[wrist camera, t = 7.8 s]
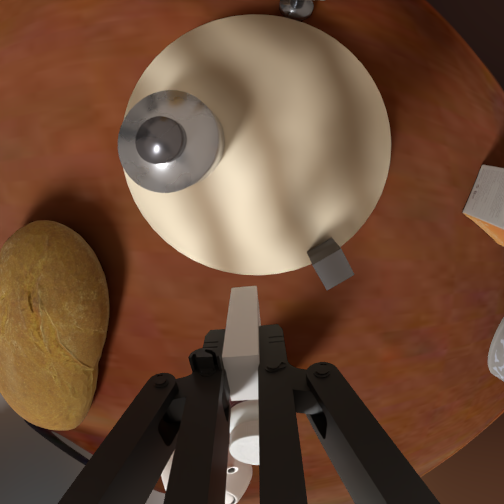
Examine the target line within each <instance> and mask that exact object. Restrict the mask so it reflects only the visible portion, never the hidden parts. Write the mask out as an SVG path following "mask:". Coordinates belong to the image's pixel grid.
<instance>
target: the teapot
mask: <svg viewBox="0 0 504 504" xmlns="http://www.w3.org/2000/svg"><path fill="white" fill-rule="evenodd" d="M174 451H175V450H174ZM173 456H174V452H173V453H172V455H171V457H170V459H169V461H168V463H167V465H166V466H165V468H164V470H163V472H162V474H161V476H162V480H163V484H164V487H165V490H166V489H167V484H168V479H169V474H170V470H171V465H172V460H173ZM251 477H252V465H251V464H247V463H243V462H241V461H238V460H237V459H235V458H234V457H233V456H232V455H231V453H230V451H229V448H228V463H227V478H226V494H225V504H236V503H237V502H238V501H239V500H240V498H241V497H242V495H243V494H244V492H245V491H246V489H247V487H248V485H249V483H250V480H251Z"/></svg>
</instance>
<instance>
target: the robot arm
mask: <svg viewBox="0 0 504 504" xmlns="http://www.w3.org/2000/svg"><path fill="white" fill-rule="evenodd" d="M188 358H189V361H190V365H191V368H192V374H191V375H189V376H186V377H183V378H179V379H175V377H174V376H173V375H171V374H169V373H160V374H156V375H154V376H152V377H151V378H150V379H149V380H148V381H147V383H146V384H145V385H144V387H143V388H142V389H141V391H140V392H139V394H138V395H137V396H136V398H135V399H134V400H133V402H132V403H131V404H130V406H129V407H128V408H127V410H126V411H125V412H124V414H123V415H122V417H121V418H120V419H119V421H118V422H117V423H116V425H115V426H114V427H113V429H112V430H111V431H110V433H109V434H108V436H107V437H106V438H105V440H104V441H103V442H102V444H101V445H100V446H99V448H98V449H97V450H96V452H95V453H94V455H93V456H92V458H91V459H90V460H89V461H88V463H87V464H86V466H85V467H84V468H83V470H82V471H81V472H80V474H79V475H78V476H77V478H76V479H75V481H74V482H73V483H72V485H71V486H70V487H69V489H68V490H67V492H66V493H65V494H64V496H63V497H62V499H61V500H60V501H59V503H58V504H145V503H146V501H147V499H148V497H149V495H150V494H151V492H152V490H153V488H154V487H155V485H156V483H157V481H158V479H159V477H160V476H161V474H162V472H163V470H164V468H165V466H166V465H167V463H168V461H169V459H170V457H171V455H172V453H173V452H174V456H173V460H172V465H171V470H170V474H169V479H168V484H167V489H166V494H165V499H164V504H225V494H226V478H227V463H228V448H229V433H230V418H231V406H230V397H231V401H240V400H256V399H258V406H259V476H260V504H307V496H306V487H305V479H304V471H303V464H302V456H301V448H300V441H299V433H298V426H297V418H296V412H297V413H305V414H306V415H307V418H308V419H309V421H310V423H311V425H312V427H313V429H314V431H315V432H316V434H317V436H318V438H319V440H320V442H321V444H322V445H323V447H324V449H325V451H326V453H327V454H328V456H329V458H330V460H331V462H332V464H333V465H334V467H335V469H336V471H337V473H338V474H339V476H340V478H341V480H342V481H343V483H344V485H345V487H346V489H347V490H348V492H349V494H350V496H351V497H352V499H353V501H354V503H355V504H440V503H439V502H438V500H437V499H436V498H435V496H434V495H433V494H432V492H431V491H430V490H429V489H428V487H427V486H426V484H425V483H424V482H423V481H422V479H421V478H420V477H419V475H418V474H417V473H416V471H415V470H414V469H413V467H412V466H411V465H410V463H409V462H408V461H407V459H406V458H405V457H404V456H403V454H402V453H401V452H400V450H399V449H398V448H397V446H396V445H395V444H394V442H393V441H392V440H391V438H390V437H389V436H388V435H387V433H386V432H385V431H384V429H383V428H382V427H381V425H380V424H379V423H378V421H377V420H376V419H375V417H374V416H373V415H372V414H371V412H370V411H369V410H368V408H367V407H366V406H365V404H364V403H363V402H362V400H361V399H360V398H359V396H358V395H357V394H356V392H355V391H354V390H353V389H352V387H351V386H350V385H349V383H348V382H347V381H346V379H345V378H344V377H343V375H342V374H341V373H340V371H339V370H338V369H337V367H335V366H334V365H333V364H330V363H327V362H319V363H315V364H313V365H311V366H310V367H309V368H308V369H307V370H305V369H299V368H295V367H293V366H292V365H290V364H289V362H288V360H287V355H286V349H285V342H284V336H283V329H282V328H281V327H280V326H279V325H278V324H274V325H264V326H261V322H260V313H259V303H258V294H257V286H249V287H238V288H232V289H231V296H230V303H229V310H228V317H227V324H226V329H221V330H210V331H209V333H208V334H207V335H206V336H205V340H204V345H203V348H201V349H198V350H195V351H194V352H192V353H191V354H190V356H189V357H188ZM174 450H175V451H174Z"/></svg>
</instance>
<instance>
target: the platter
mask: <svg viewBox="0 0 504 504" xmlns="http://www.w3.org/2000/svg"><path fill="white" fill-rule="evenodd" d="M164 90H178V91H183V92H186V93H189V94H191V95H193V96H195V97H196V98H198V99H199V100H201V101H202V102H203V103H204V104H205V105H206V106H207V107H208V108H210V109H211V110H212V111H213V112H214V113H215V115H216V116H217V117H218V119H219V120H220V122H221V125H222V127H223V131H224V136H225V146H224V152H223V155H222V158H221V160H220V162H219V164H218V165H217V167H216V168H215V170H214V171H213V172H212V173H211V174H210V175H209V176H208V177H206V178H205V179H204V180H202V181H200V182H198V183H196V184H194V185H192V186H189V187H187V188H185V189H183V190H180V191H176V192H171V193H158V192H153V191H149V190H147V189H145V188H143V187H141V186H139V185H138V184H136V183H135V182H134V181H133V180H132V179H131V178H130V177H129V176H128V174H127V173H126V172H125V170H124V172H125V176H126V180H127V184H128V187H129V189H130V191H131V194H132V196H133V199H134V201H135V203H136V204H137V206H138V208H139V210H140V211H141V213H142V215H143V216H144V218H145V219H146V220H147V222H148V223H149V224H150V225H151V227H152V228H153V229H154V230H155V231H156V232H157V233H158V234H159V235H160V236H161V237H162V238H163V239H164V240H165V241H166V242H167V243H168V244H170V245H171V246H172V247H174V248H175V249H176V250H177V251H179V252H181V253H182V254H184V255H186V256H187V257H189V258H191V259H192V260H194V261H197V262H199V263H201V264H203V265H206V266H208V267H211V268H214V269H218V270H221V271H225V272H230V273H236V274H242V275H268V274H278V273H283V272H287V271H292V270H296V269H299V268H301V267H304V266H307V265H310V264H312V265H313V267H314V269H315V270H316V272H317V274H318V276H319V277H320V279H321V281H322V283H323V284H324V286H325V288H326V290H329V289H330V288H332V287H334V286H336V285H337V284H339V283H341V282H343V281H344V280H346V279H348V278H350V277H351V276H353V275H354V273H353V271H352V269H351V267H350V265H349V263H348V261H347V259H346V257H345V255H344V253H343V251H342V249H341V248H340V247H341V246H342V245H343V244H344V243H346V242H347V241H348V240H349V239H350V238H351V237H352V236H353V235H354V234H355V233H356V232H357V231H358V230H359V229H360V228H361V226H362V225H363V224H364V223H365V221H366V220H367V219H368V217H369V216H370V214H371V213H372V211H373V210H374V208H375V206H376V204H377V202H378V200H379V198H380V196H381V194H382V191H383V188H384V185H385V182H386V179H387V175H388V170H389V165H390V157H391V134H390V125H389V120H388V116H387V111H386V108H385V105H384V102H383V100H382V97H381V94H380V92H379V90H378V88H377V86H376V84H375V83H374V81H373V79H372V77H371V76H370V74H369V73H368V72H367V70H366V69H365V67H364V66H363V65H362V63H361V62H360V61H359V60H358V59H357V58H356V57H355V56H354V55H353V54H352V53H351V52H350V51H349V50H348V49H347V48H346V47H344V46H343V45H342V44H341V43H339V42H338V41H337V40H336V39H334V38H333V37H331V36H329V35H328V34H326V33H324V32H323V31H321V30H319V29H317V28H315V27H312V26H310V25H308V24H305V23H303V22H300V21H296V20H293V19H289V18H285V17H279V16H273V15H257V14H249V15H239V16H232V17H227V18H223V19H219V20H215V21H212V22H209V23H207V24H204V25H202V26H199V27H197V28H195V29H193V30H191V31H189V32H188V33H186V34H184V35H182V36H181V37H179V38H178V39H177V40H175V41H174V42H173V43H171V44H170V45H168V46H167V47H166V48H165V49H164V50H163V51H162V52H161V53H160V54H159V55H158V56H157V57H156V58H155V59H154V60H153V61H152V63H151V64H150V65H149V66H148V68H147V69H146V70H145V71H144V73H143V75H142V76H141V78H140V79H139V81H138V83H137V84H136V86H135V88H134V91H133V93H132V95H131V97H130V100H129V102H128V106H127V109H126V113H125V116H124V119H125V117H126V115H127V114H128V112H129V111H130V110H131V109H132V108H133V106H134V105H136V104H137V103H138V102H139V101H140V100H142V99H143V98H145V97H147V96H148V95H150V94H153V93H156V92H159V91H164Z"/></svg>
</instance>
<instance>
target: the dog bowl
mask: <svg viewBox="0 0 504 504" xmlns="http://www.w3.org/2000/svg"><path fill="white" fill-rule="evenodd" d="M488 367H489V370H490V372H491V373H492V374H493V375H495V376H496V377H498V378H499V379H501V380H502V381H504V317H503V319H502V321H501V323H500V325H499V327H498V329H497V331H496V333H495V335H494V337H493V340H492V343H491V346H490V349H489V354H488Z"/></svg>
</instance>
